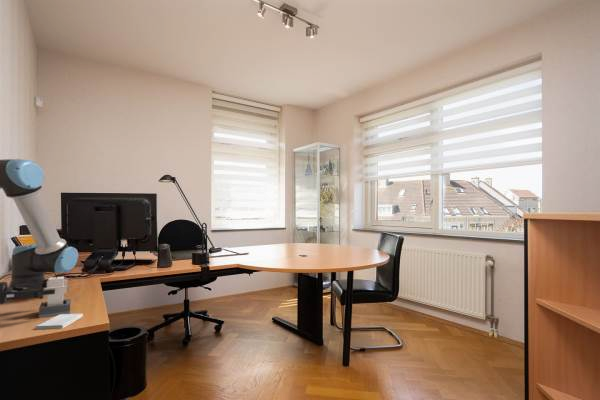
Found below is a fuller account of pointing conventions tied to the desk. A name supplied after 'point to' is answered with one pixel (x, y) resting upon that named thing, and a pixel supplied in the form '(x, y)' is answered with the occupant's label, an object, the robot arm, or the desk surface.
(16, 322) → the desk surface
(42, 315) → the socket dock
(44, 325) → the hard drive
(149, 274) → the desk surface
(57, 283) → the block
